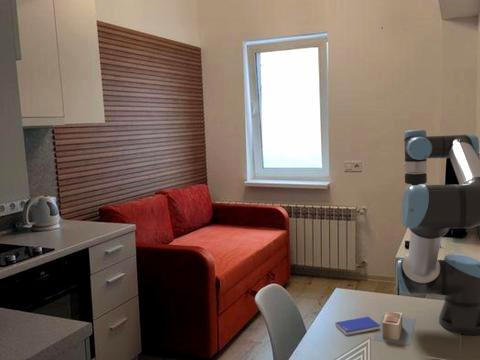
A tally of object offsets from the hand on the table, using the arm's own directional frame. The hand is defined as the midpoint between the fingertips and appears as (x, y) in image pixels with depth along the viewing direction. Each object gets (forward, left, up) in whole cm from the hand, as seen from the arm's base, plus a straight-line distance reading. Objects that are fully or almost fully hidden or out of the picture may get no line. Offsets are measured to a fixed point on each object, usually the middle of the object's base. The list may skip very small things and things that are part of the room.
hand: (415, 235), depth 174 cm
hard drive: (+17, +27, -26) cm, 41 cm away
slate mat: (+5, +25, -26) cm, 37 cm away
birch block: (+5, +23, -24) cm, 33 cm away
